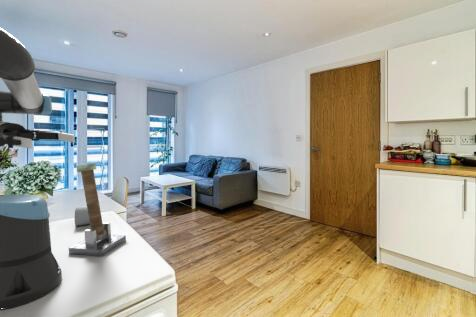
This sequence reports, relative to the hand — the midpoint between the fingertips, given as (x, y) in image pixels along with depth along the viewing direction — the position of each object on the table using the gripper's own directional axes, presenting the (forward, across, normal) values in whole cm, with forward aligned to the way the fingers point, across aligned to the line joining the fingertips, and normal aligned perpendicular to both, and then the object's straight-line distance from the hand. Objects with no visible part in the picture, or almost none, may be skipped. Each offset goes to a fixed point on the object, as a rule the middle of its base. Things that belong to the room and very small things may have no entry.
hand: (53, 141), depth 78 cm
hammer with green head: (+14, -2, -33) cm, 36 cm away
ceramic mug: (-11, -19, -41) cm, 46 cm away
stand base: (+14, -2, -35) cm, 38 cm away
